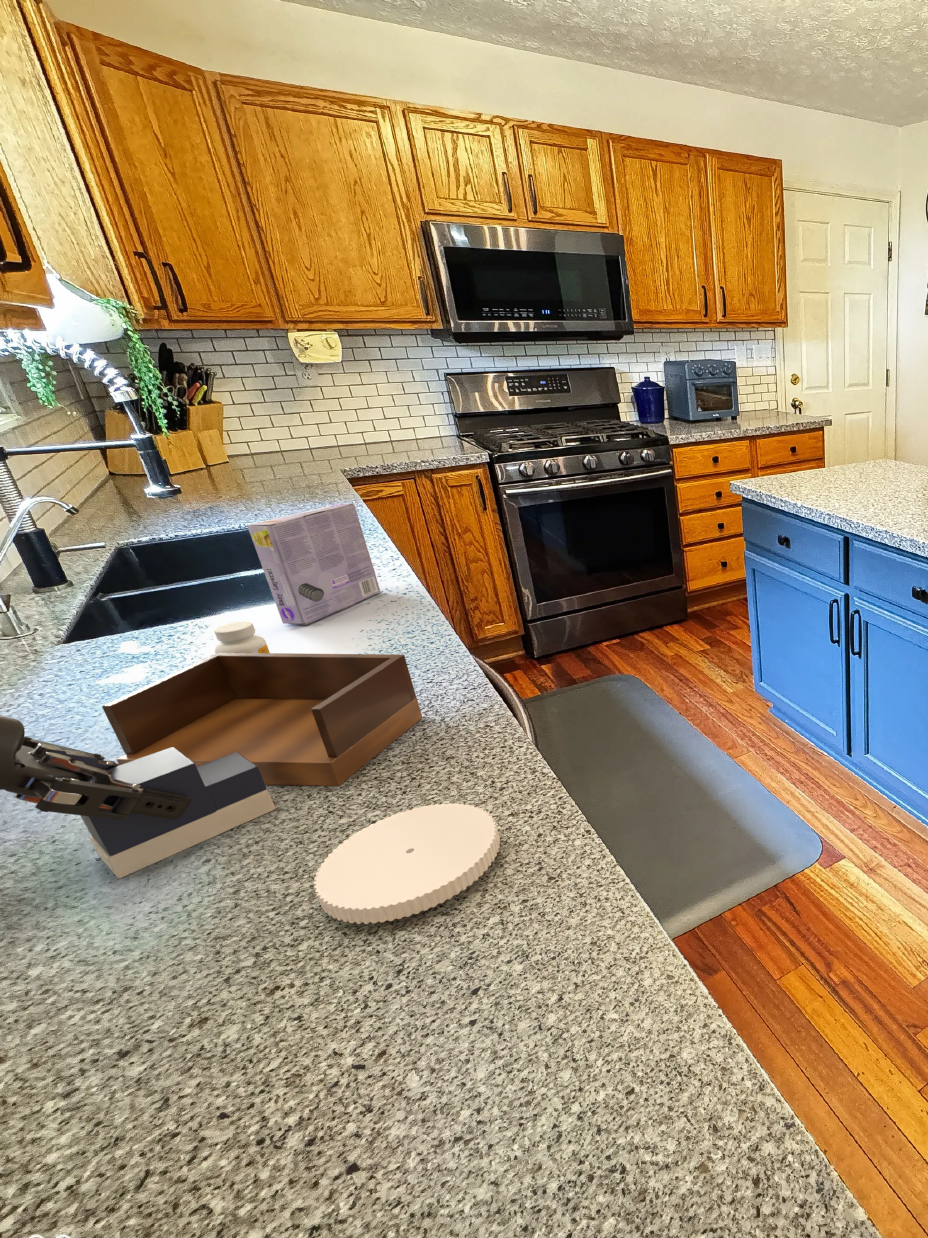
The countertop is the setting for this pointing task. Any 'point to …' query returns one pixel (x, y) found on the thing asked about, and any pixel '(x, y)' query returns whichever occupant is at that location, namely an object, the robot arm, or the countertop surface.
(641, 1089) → the countertop surface
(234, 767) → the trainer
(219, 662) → the wooden tray
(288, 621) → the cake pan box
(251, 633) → the supplement bottle
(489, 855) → the plastic lid
